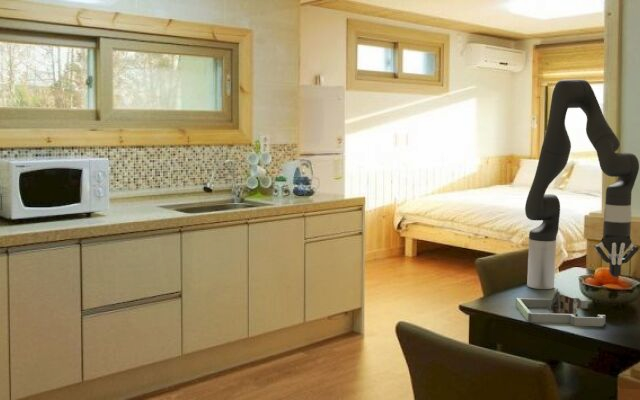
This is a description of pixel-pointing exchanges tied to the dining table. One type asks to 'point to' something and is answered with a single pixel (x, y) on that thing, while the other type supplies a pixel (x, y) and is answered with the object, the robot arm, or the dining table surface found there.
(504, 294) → the dining table surface
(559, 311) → the marbled cake slice
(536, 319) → the track
